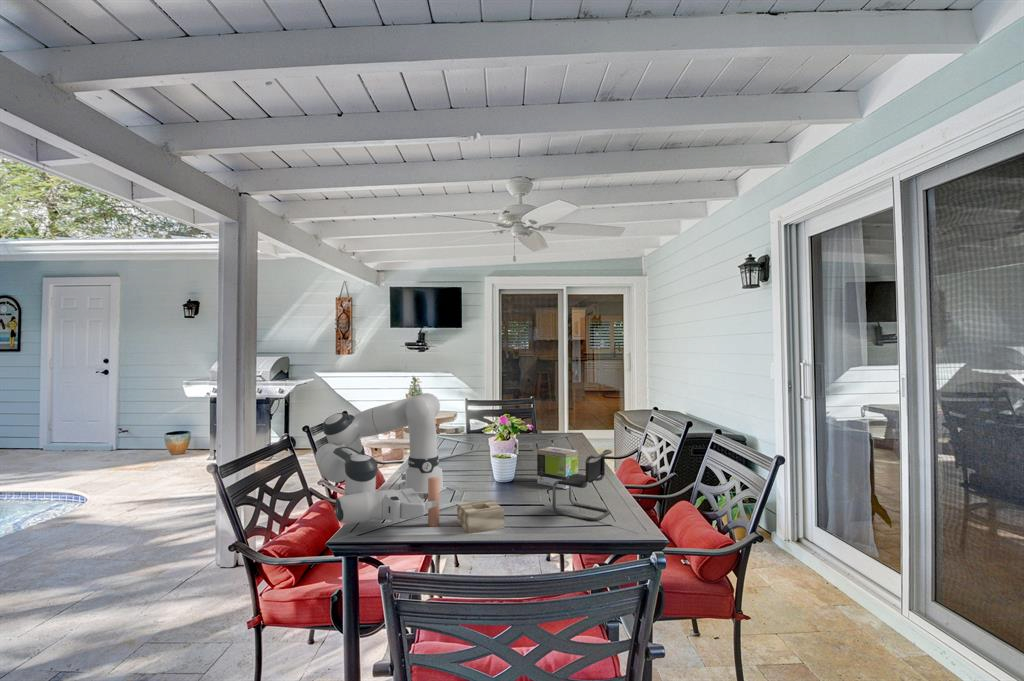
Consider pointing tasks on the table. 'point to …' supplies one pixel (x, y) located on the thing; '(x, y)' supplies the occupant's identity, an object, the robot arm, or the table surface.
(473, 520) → the socket block
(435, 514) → the dowel
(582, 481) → the chair
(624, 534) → the table surface
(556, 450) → the tea box
